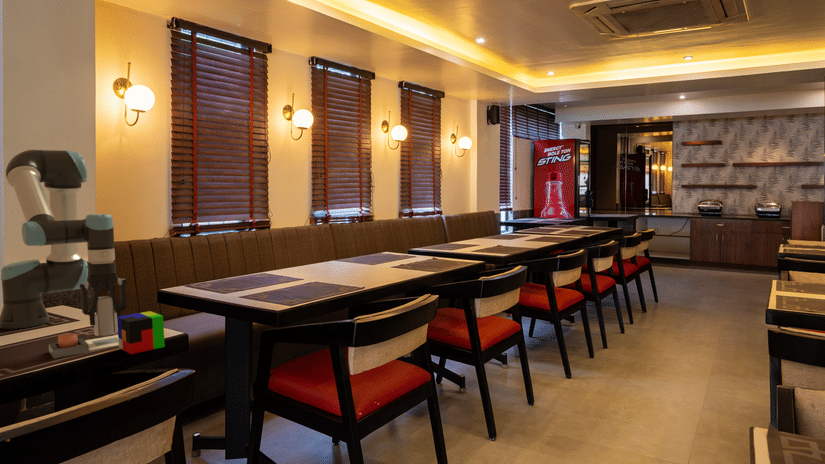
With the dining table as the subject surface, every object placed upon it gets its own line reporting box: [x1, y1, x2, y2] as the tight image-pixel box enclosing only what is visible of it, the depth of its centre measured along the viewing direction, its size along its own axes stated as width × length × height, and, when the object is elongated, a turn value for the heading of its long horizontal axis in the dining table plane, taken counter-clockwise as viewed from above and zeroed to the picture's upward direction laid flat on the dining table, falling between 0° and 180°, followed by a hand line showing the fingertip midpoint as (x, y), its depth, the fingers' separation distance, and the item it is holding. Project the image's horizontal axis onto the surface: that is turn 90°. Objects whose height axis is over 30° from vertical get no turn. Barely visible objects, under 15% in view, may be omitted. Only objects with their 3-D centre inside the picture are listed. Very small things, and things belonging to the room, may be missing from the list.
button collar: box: [48, 337, 90, 360], centre depth 163 cm, size 9×9×2 cm
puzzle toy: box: [117, 310, 166, 355], centre depth 167 cm, size 10×10×10 cm
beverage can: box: [95, 295, 115, 337], centre depth 172 cm, size 5×5×12 cm
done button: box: [57, 332, 79, 348], centre depth 163 cm, size 5×5×4 cm
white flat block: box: [84, 334, 119, 352], centre depth 173 cm, size 13×12×1 cm
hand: (106, 333), depth 173 cm, fingers closed on beverage can, 5 cm apart
